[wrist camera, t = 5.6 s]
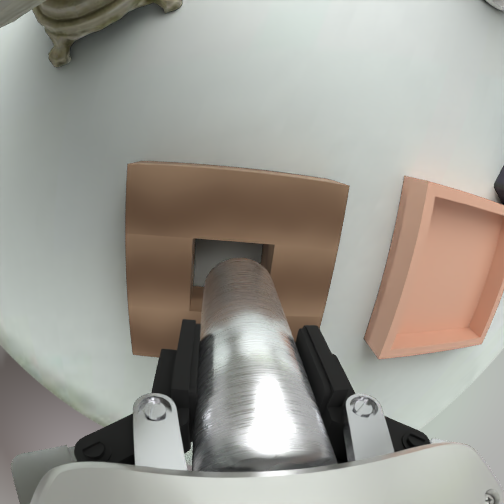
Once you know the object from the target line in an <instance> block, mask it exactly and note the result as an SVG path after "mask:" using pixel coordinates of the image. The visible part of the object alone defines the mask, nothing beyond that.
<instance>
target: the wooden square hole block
mask: <svg viewBox="0 0 504 504" xmlns="http://www.w3.org/2000/svg"><path fill="white" fill-rule="evenodd" d="M348 192H349V186H348V185H345V184H342V183H339V182H336V181H333V180H330V179H325V178H318V177H312V176H305V175H298V174H290V173H283V172H275V171H267V170H258V169H249V168H239V167H229V166H218V165H206V164H192V163H177V162H158V161H140V162H134V163H129V164H128V165H127V182H126V214H125V248H126V279H127V297H128V311H129V323H130V334H131V343H132V352H133V355H141V356H150V357H160V352H161V349H172V350H177V347H178V342H179V336H180V330H181V325H182V320H183V319H189V320H196V324H201V313H202V303H203V292H204V287H198V286H193V277H194V258H195V241H196V239H209V240H222V241H235V242H247V243H260V244H263V250H262V258H261V265H262V266H264V267H265V268H266V270H267V271H268V272H269V274H270V276H271V278H272V281H273V283H274V286H275V289H276V292H277V294H278V297H279V300H280V303H281V305H282V308H283V311H284V314H285V316H286V319H287V322H288V325H289V327H290V330H291V333H292V336H293V339H294V341H295V342H296V338H297V334H298V330H299V329H300V328H303V326H304V325H317V326H318V327H319V329H320V325H321V321H322V317H323V313H324V309H325V305H326V301H327V296H328V292H329V288H330V284H331V279H332V275H333V270H334V266H335V261H336V256H337V251H338V246H339V241H340V236H341V231H342V226H343V221H344V215H345V209H346V204H347V198H348Z"/></svg>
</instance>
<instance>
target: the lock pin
mask: <svg viewBox="0 0 504 504" xmlns="http://www.w3.org/2000/svg"><path fill="white" fill-rule="evenodd" d="M334 464H338V463H337V460H336V457H335V454H334V451H333V448H332V445H331V443H330V440H329V437H328V434H327V431H326V428H325V425H324V423H323V420H322V417H321V414H320V411H319V408H318V406H317V403H316V400H315V397H314V394H313V392H312V389H311V386H310V383H309V380H308V378H307V375H306V372H305V369H304V366H303V364H302V361H301V358H300V355H299V352H298V350H297V347H296V344H295V341H294V339H293V336H292V333H291V330H290V327H289V325H288V322H287V319H286V316H285V314H284V311H283V308H282V305H281V303H280V300H279V297H278V294H277V292H276V289H275V286H274V283H273V281H272V278H271V276H270V274H269V272H268V271H267V270H266V268H265V267H264V266H262V265H261V264H260V263H258V262H256V261H254V260H251V259H247V258H232V259H228V260H225V261H223V262H221V263H219V264H218V265H216V266H215V267H214V268H213V269H212V270H211V271H210V272H209V274H208V276H207V278H206V280H205V284H204V292H203V303H202V313H201V334H200V351H199V366H198V382H197V400H196V413H195V416H194V430H193V455H192V471H204V472H264V471H281V470H293V469H303V468H312V467H320V466H327V465H334Z"/></svg>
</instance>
